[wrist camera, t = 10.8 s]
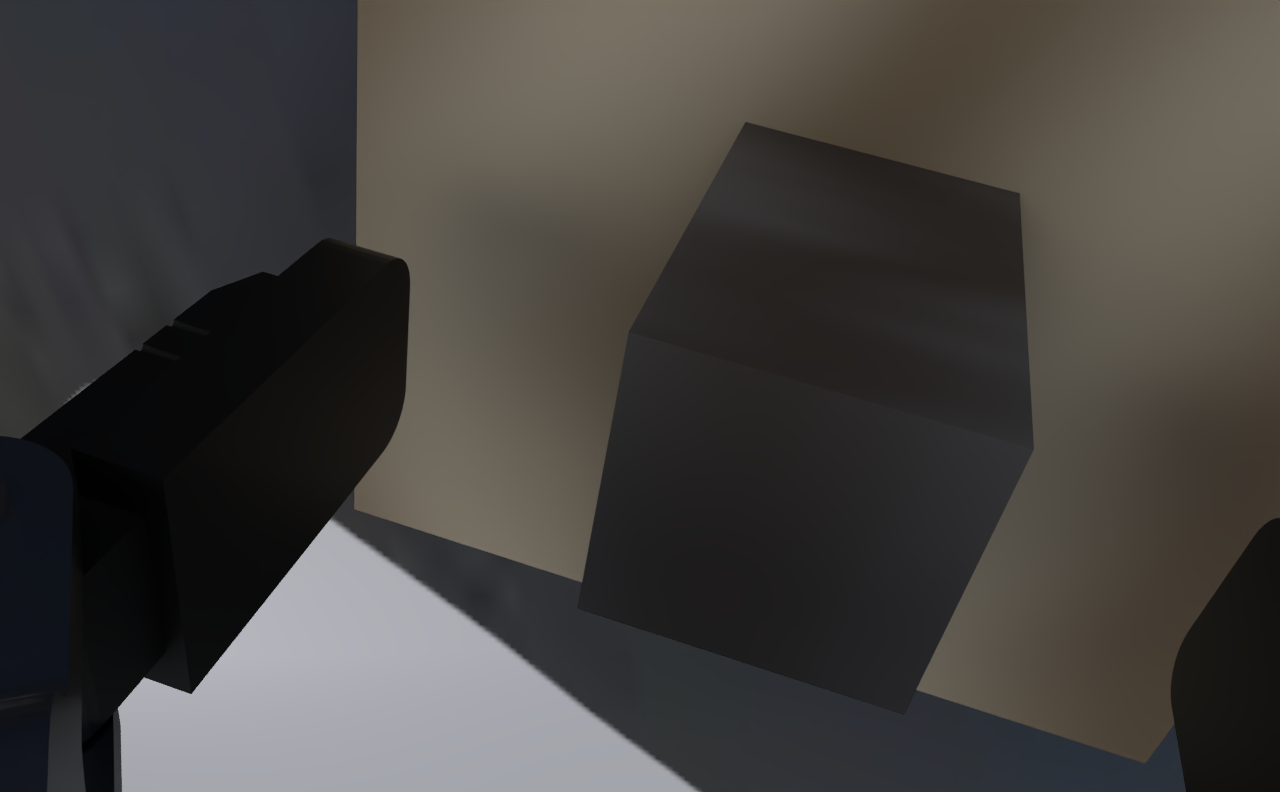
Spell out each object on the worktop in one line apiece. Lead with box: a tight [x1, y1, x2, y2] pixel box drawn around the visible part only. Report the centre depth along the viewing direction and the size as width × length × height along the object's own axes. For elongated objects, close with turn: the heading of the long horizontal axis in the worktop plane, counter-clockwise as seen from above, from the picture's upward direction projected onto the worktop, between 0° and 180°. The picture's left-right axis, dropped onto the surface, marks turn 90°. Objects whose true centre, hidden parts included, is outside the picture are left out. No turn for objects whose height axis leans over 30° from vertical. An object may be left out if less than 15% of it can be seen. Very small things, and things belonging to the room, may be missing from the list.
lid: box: [354, 0, 1280, 763], centre depth 11 cm, size 13×13×6 cm
